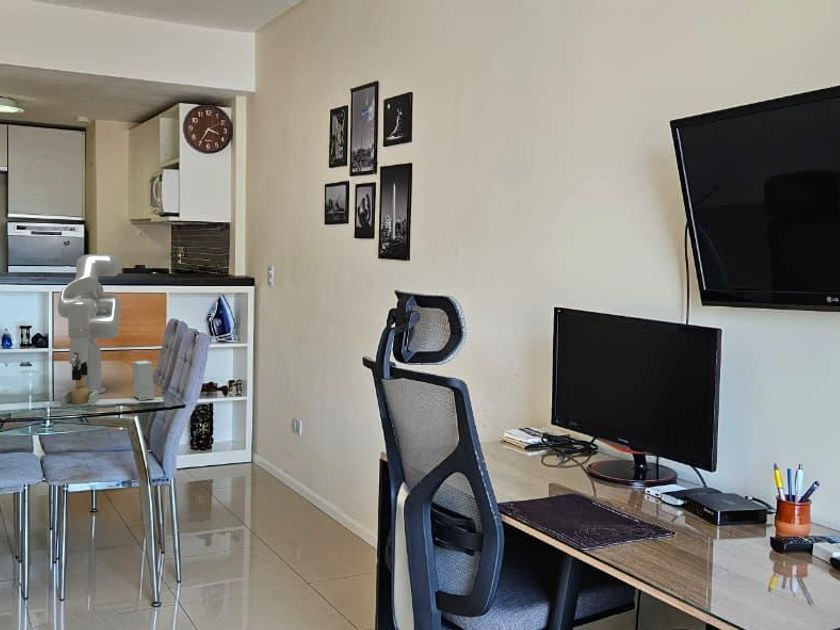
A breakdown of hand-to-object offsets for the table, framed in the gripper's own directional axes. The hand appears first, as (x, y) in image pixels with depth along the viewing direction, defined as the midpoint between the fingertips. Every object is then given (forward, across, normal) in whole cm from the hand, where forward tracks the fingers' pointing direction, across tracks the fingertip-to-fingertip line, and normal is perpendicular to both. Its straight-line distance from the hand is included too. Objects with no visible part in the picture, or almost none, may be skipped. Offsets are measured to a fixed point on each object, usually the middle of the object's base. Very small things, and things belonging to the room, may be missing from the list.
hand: (79, 377), depth 343 cm
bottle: (+10, 0, 0) cm, 10 cm away
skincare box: (+10, -8, +22) cm, 26 cm away
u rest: (+10, +1, 0) cm, 10 cm away
